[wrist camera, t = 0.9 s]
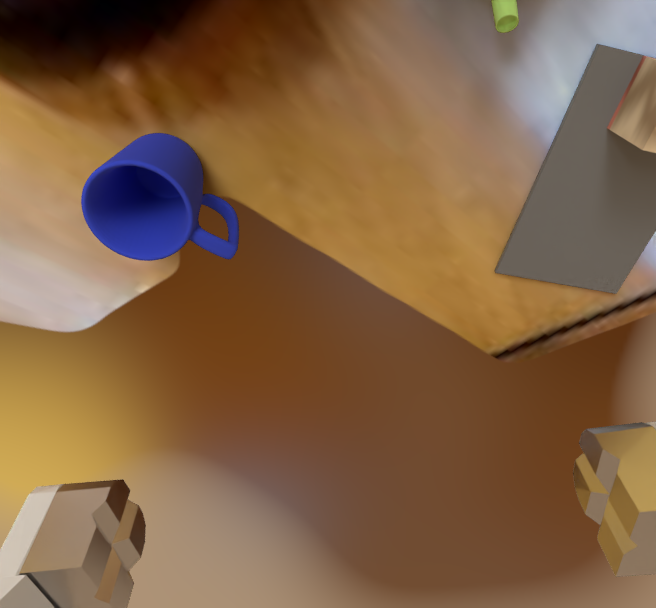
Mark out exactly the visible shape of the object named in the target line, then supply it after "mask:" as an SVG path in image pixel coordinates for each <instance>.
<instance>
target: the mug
mask: <svg viewBox="0 0 656 608" xmlns="http://www.w3.org/2000/svg"><path fill="white" fill-rule="evenodd" d="M202 191H203V170H202V166H201V163H200V160H199V158H198V156H197V155H196V153H195V152H194V150H193V149H192V148H191V147H190V146H189V145H188V144H187V143H185V142H184V141H182V140H181V139H179V138H177V137H175V136H172V135H169V134H163V133H153V134H148V135H145V136H142V137H140V138H138V139H136V140H135V141H133V142H132V143H131V144H130V145H128V146H127V147H126V148H124V149H123V150H122V151H120V152H119V153H118V154H116V155H115V156H114V157H112V158H111V159H110V160H108V161H107V162H106V163H104V164H103V165H102V166H100V167H99V168H98V169H96V170H95V171H94V172H93V173H92V174H91V175H90V177H89V178H88V180H87V181H86V183H85V185H84V188H83V192H82V200H81V203H82V210H83V215H84V218H85V220H86V222H87V224H88V226H89V228H90V229H91V231H92V232H93V234H94V235H95V236H96V237H97V238H98V239H99V240H100V241H101V242H102V243H103V244H104V245H105V246H107V247H108V248H109V249H111V250H113V251H114V252H116V253H118V254H120V255H123V256H125V257H128V258H132V259H136V260H147V261H150V260H158V259H163V258H166V257H168V256H171V255H172V254H174V253H176V252H177V251H179V250H180V249H181V248H182V247H183V246H184V245H185V243H186V242H187V241H188V240H191V241H193V242H194V243H195V244H197V245H198V246H200V247H202V248H203V249H205V250H208V251H209V252H211V253H213V254H215V255H218V256H220V257H223V258H225V259H231V258H232V257H233V256H234V255H235V253H236V251H237V248H238V239H239V225H238V218H237V215H236V212H235V211H234V209H233V208H232V207H231V205H230V204H228V203H227V202H226V201H224V200H223V199H221V198H219V197H217V196H215V195H212V194H202ZM201 204H203V205H206V206H208V207H210V208H212V209H214V210H215V211H217V212H218V213H219V214H221V215H222V216H223V218H224V219H225V220H226V223H227V226H228V233H229V237H228V241H225V240H223V239H221V238H219V237H217V236H215V235H213V234H211V233H208V232H207V231H205V230H203V229H202V228H201V227H200V226H199V222H198V215H199V210H200V207H201Z"/></svg>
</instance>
